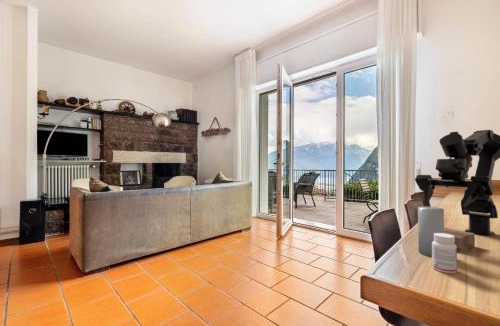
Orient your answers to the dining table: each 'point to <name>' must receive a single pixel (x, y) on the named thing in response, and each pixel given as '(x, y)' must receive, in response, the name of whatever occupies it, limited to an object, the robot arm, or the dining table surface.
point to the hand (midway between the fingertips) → (443, 204)
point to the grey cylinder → (429, 227)
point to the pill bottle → (444, 253)
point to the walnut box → (462, 239)
